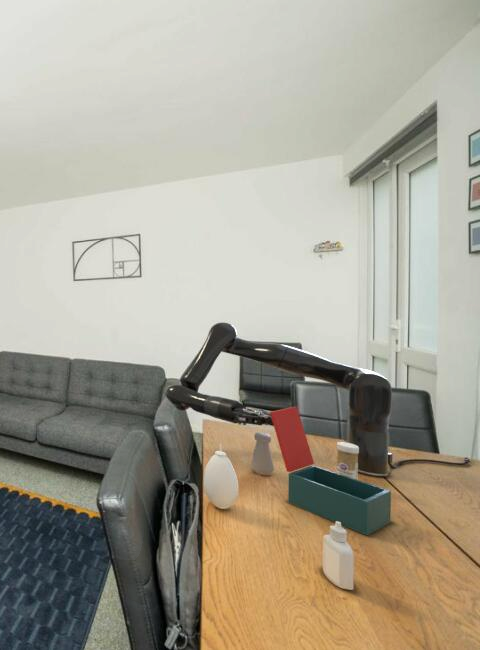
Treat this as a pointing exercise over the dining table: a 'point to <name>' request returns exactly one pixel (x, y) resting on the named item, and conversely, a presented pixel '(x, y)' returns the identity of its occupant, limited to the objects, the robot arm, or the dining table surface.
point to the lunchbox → (340, 498)
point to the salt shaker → (262, 455)
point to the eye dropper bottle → (338, 558)
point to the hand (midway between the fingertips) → (284, 424)
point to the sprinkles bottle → (347, 459)
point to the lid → (291, 438)
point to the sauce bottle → (220, 481)
